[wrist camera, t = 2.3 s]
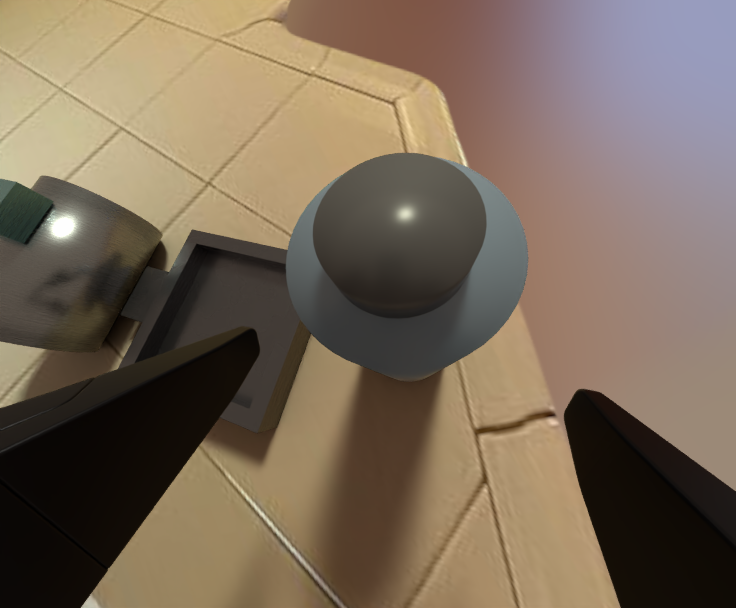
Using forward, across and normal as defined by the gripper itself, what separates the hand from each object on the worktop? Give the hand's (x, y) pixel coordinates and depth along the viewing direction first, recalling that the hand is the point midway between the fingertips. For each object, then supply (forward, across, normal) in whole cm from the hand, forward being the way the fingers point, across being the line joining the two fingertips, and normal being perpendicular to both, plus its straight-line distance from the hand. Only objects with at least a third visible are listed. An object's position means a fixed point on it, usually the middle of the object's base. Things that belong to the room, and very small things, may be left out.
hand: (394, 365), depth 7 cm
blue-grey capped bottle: (+8, 0, +5) cm, 10 cm away
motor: (+8, +17, +5) cm, 20 cm away
